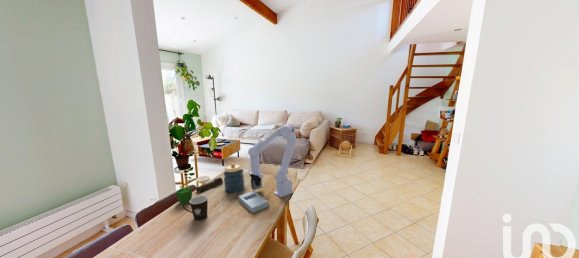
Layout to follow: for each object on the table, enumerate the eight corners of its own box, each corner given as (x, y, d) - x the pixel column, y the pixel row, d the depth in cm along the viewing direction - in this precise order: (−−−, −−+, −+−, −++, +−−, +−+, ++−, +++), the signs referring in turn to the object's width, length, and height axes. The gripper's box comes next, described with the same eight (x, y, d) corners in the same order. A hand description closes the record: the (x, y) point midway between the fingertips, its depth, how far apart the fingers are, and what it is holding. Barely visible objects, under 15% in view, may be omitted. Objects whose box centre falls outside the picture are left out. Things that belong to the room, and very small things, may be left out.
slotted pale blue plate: (253, 195, 132) (253, 190, 132) (268, 206, 119) (268, 201, 118) (238, 200, 126) (238, 196, 126) (252, 213, 113) (252, 207, 112)
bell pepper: (195, 201, 127) (193, 186, 125) (180, 207, 121) (178, 191, 119) (190, 197, 133) (188, 182, 131) (175, 202, 127) (173, 186, 125)
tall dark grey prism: (259, 186, 139) (259, 176, 138) (262, 187, 137) (261, 177, 136) (251, 188, 136) (250, 178, 134) (253, 190, 133) (253, 180, 132)
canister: (248, 186, 144) (246, 162, 141) (234, 194, 134) (232, 168, 130) (235, 182, 151) (233, 159, 148) (220, 190, 140) (218, 164, 137)
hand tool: (198, 193, 137) (197, 187, 136) (195, 192, 140) (195, 185, 139) (224, 184, 151) (224, 177, 150) (222, 182, 153) (221, 176, 152)
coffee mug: (213, 213, 113) (211, 196, 112) (201, 223, 105) (199, 205, 104) (195, 210, 117) (193, 193, 115) (183, 219, 109) (180, 201, 107)
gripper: (244, 163, 137) (245, 183, 139) (255, 169, 126) (256, 190, 128) (254, 161, 141) (255, 180, 144) (265, 166, 130) (266, 187, 132)
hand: (256, 185), depth 136 cm, fingers closed on tall dark grey prism, 3 cm apart
